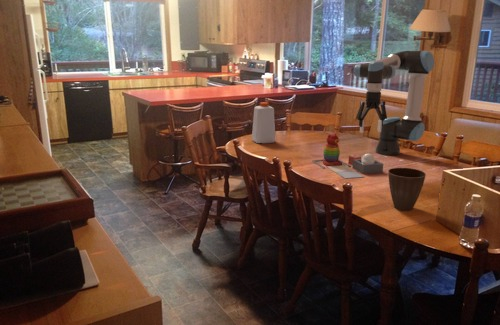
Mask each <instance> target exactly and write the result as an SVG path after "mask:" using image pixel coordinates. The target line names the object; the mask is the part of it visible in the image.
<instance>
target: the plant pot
mask: <svg viewBox="0 0 500 325" xmlns="http://www.w3.org/2000/svg"><path fill="white" fill-rule="evenodd" d="M387 172H388V174H387V175H388V184H389V189H390V190H389V191H390V195H391V199H392V204H393V206H394V208H395V209H396V210H399V211H406V212H408V211H412V210H413V209H414V207H415V206H416V203H417V201H418V199H419V196H420V194H421V192H422V189H423V187H424V183H425V179H426V176H427V174H426V173H425V172H424V171H422V170H420V169H415V168H412V167H411V168H410V167H394V168H389V169H388V171H387Z"/></svg>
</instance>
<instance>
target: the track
mask: <svg viewBox="0 0 500 325" xmlns="http://www.w3.org/2000/svg"><path fill="white" fill-rule="evenodd" d="M338 160H339V161H341V162H342V165H335V166H326V167H325V166H324V165H322V164H320V163H319V162H323V161H324V159H313V160H311V161H312V162H313V163H314V164H316V165H317V166H319V167H320V168H322V169H326V168H327V169H328V170H330V171H332V172H333V173H336V175H338V176H340V177H342V179H359V178H364V177H365V176H364V175H363V174H361V173H360V172H359V173H358V171H356V170H354V169H353V168H350V167H352V165H350V164H348V163H347V162H345V161H343V160H341V159H340V158H339V159H338ZM343 164H344V165H343Z"/></svg>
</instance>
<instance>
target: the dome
mask: <svg viewBox="0 0 500 325" xmlns="http://www.w3.org/2000/svg"><path fill="white" fill-rule="evenodd" d="M361 159H362V161H361V163H363V164H374V162H375V160H376V159H375V157H374V155H373V154H372V153H365V154H363V155H362V157H361Z"/></svg>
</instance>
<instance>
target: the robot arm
mask: <svg viewBox="0 0 500 325" xmlns="http://www.w3.org/2000/svg"><path fill="white" fill-rule="evenodd" d="M434 67H435V58H434V55H433V53H432V52H431V51H429V50H428V51H427V50H402V51H398V52H395V53H392V54H389V55H387V57H385V58H381V59H378V60H374V61H369V62H367V63H356V64H355V65H354V67H353V75H354V76H355V77H356V78H364V79H365V78H366V79H367V83H366V94H365V95H366V96H365V98H366V99H365V101H362V100H361V101H360V104H359V108H358V110H357V114H356V117H355V119H356V120H358V127H359V133H361V134H364V130H365V129H364V128H365V121H364V120H365V117H366V116H367V114H368V113H369V111H370V110H373V109H374V110H375V111H376V113H377V116H378V118H379V119H378V121H377V132H378V133H379V140H378V143H377V145H376V147H375V153H376V154H379V155H385V156H397V155H399V154H400V153H401V149H400V145H399V140H405V141H410V142H418V141H419V140H420V139H421V138H422V137H423V135H424V132H425V128H426V127H425V123H423V122H422V120H423V119H422V118H421V117H420V116H421V111H422V110H421V109H422V104H423V96H424V89H425V82H426V77H427V76H429V73H430V72H432V71H433V69H434ZM397 70H401V71H408V72H407V74H408V75H409V83H408V84H409V85H408V91H407V97H406V105H405V111H404V112H405V113H404V115H403V117H402V118H401V117H400V116H390V117H388V115H387V114H388V113H387V110H386V101H384V100H381V98H382V92H381V91H382V88H383V87H382V86H383V80H389V79H390V80H391V79H392V78H393V77H394V76H395V74H396V71H397Z"/></svg>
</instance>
